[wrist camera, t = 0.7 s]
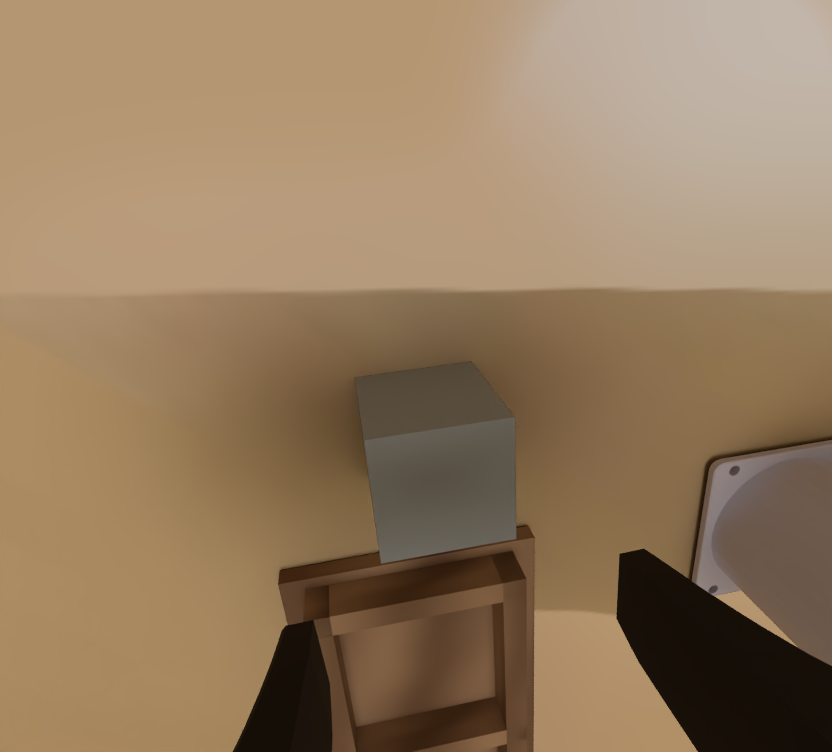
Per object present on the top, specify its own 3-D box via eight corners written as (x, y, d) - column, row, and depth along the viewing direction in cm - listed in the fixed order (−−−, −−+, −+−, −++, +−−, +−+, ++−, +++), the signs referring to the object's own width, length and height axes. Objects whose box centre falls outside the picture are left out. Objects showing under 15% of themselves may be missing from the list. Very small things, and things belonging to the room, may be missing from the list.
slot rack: (528, 525, 23) (551, 566, 21) (527, 797, 31) (545, 849, 28) (272, 571, 22) (266, 621, 19) (338, 843, 29) (339, 903, 27)
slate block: (470, 360, 20) (515, 417, 15) (475, 461, 22) (516, 538, 17) (354, 377, 19) (363, 440, 15) (368, 478, 21) (380, 563, 16)
